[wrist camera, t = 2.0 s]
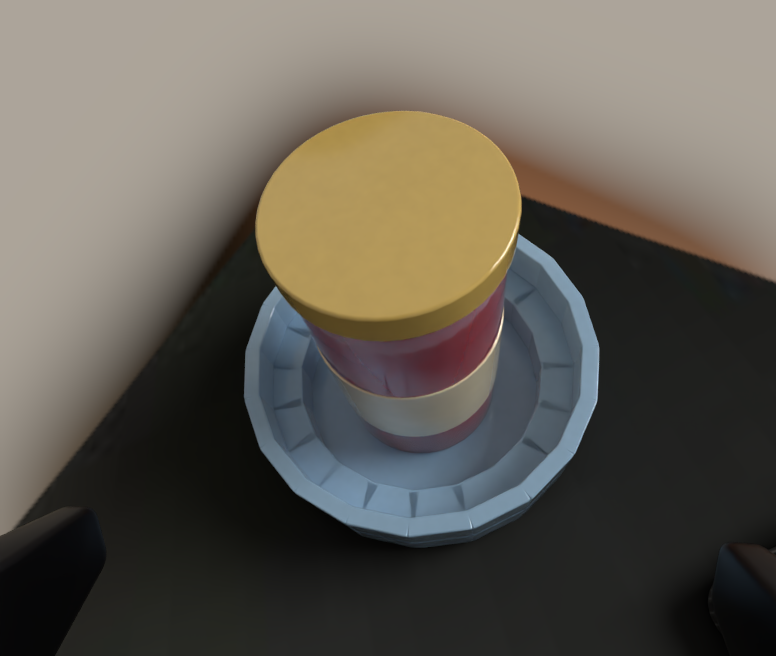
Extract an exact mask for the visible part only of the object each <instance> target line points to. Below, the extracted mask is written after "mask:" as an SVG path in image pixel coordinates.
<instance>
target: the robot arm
mask: <svg viewBox="0 0 776 656" xmlns="http://www.w3.org/2000/svg"><path fill="white" fill-rule="evenodd" d="M105 560H106V547H105V543H104V539H103V536H102V532H101V528H100V524H99V521H98V517H97V514H96V513H95V511H94V510H93V509H91V508H88V507H73V506H69V507H63V508H61V509H59V510H56V511H54V512H52V513H50V514H48V515H45V516H43V517H41V518H39V519H37V520H34V521H32V522H30V523H28V524H26V525H23V526H21V527H19V528H17V529H15V530H12V531H10V532H8V533H6V534H4V535H1V536H0V656H55V654H56V652H57V651H58V649H59V647H60V645H61V643H62V642H63V640H64V638H65V636H66V634H67V633H68V631H69V629H70V627H71V625H72V623H73V622H74V620H75V618H76V616H77V614H78V612H79V611H80V609H81V607H82V605H83V603H84V601H85V600H86V598H87V596H88V594H89V592H90V591H91V589H92V587H93V585H94V583H95V581H96V580H97V578H98V576H99V574H100V572H101V570H102V568H103V566H104V563H105ZM712 604H713V608H714V612H715V615H716V618H717V621H718V624H719V627H720V629H721V632H722V635H723V638H724V641H725V644H726V647H727V649H728V652H729V655H730V656H776V555H775V554H774V553H772V552H771V551H769V550H768V549H766V548H764V547H762V546H761V545H758V544H751V543H732V542H728V543H725V544H723V545H722V547H721V548H720V551H719V555H718V561H717V566H716V572H715V577H714V583H713V588H712Z"/></svg>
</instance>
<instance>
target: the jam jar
mask: <svg viewBox="0 0 776 656" xmlns="http://www.w3.org/2000/svg"><path fill="white" fill-rule="evenodd" d="M520 220H521V193H520V187H519V184H518V181H517V178H516V175H515V172H514V170H513V169H512V167H511V165H510V163H509V161H508V159H507V158H506V157H505V155H504V154H503V153H502V152H501V150H500V149H499V148H498V147H497V146H496V145H495V144H494V143H493V142H492V141H491V140H490V139H489V138H487V137H486V136H484V135H483V134H482V133H480V132H479V131H477V130H476V129H474V128H472V127H470V126H468V125H466V124H464V123H462V122H459V121H457V120H454V119H452V118H448V117H444V116H441V115H437V114H432V113H426V112H417V111H389V112H381V113H374V114H369V115H364V116H360V117H356V118H353V119H350V120H347V121H344V122H341V123H339V124H337V125H334V126H332V127H330V128H328V129H326V130H324V131H322V132H320V133H318V134H317V135H315V136H313V137H312V138H310V139H309V140H307V141H306V142H305V143H303V144H302V145H301V146H299V147H298V148H297V149H296V150H294V151H293V152H292V153H291V154H290V155H289V156H288V157H287V158H286V159H285V160H284V161H283V162H282V163H281V165H280V166H279V167H278V168H277V170H276V171H275V172H274V174H273V175H272V177H271V179H270V180H269V182H268V183H267V185H266V187H265V189H264V192H263V194H262V196H261V199H260V202H259V206H258V209H257V216H256V223H255V229H256V242H257V247H258V252H259V255H260V257H261V260H262V262H263V265H264V267H265V268H266V270H267V272H268V273H269V275H270V277H271V278H272V280H273V282H274V283H275V285H276V287H277V289H278V290H279V292H280V294H281V295H282V297H283V298H284V299H285V300H286V302H287V303H288V304H289V305H290V306H291V308H292V309H294V310H295V311H296V312H297V313H298V314H299V315H300V317H301V318H302V320H303V322H304V324H305V325H306V327H307V329H308V331H309V332H310V334H311V336H312V338H313V339H314V341H315V343H316V345H317V348H318V350H319V353H320V355H321V357H322V358H323V360H324V362H325V363H326V365H327V367H328V369H329V370H330V372H331V374H332V376H333V377H334V379H335V381H336V382H337V384H338V386H339V388H340V389H341V391H342V393H343V395H344V396H345V398H346V400H347V401H348V403H349V405H350V406H351V407H352V408H353V409H354V411H355V413H356V415H357V416H358V418H359V420H360V421H361V423H362V424H363V426H364V427H365V428H366V429H367V431H368V432H369V433H370V434H372V435H373V436H374V437H375V438H376V439H378V440H379V441H381V442H382V443H384V444H386V445H388V446H390V447H392V448H395V449H397V450H401V451H405V452H411V453H431V452H436V451H441V450H444V449H447V448H450V447H452V446H454V445H456V444H458V443H459V442H461V441H463V440H464V439H466V438H467V437H468V436H469V435H470V434H472V433H473V432H474V431H475V430H476V429H477V427H478V426H479V425H480V424H481V422H482V421H483V419H484V418H485V416H486V414H487V412H488V410H489V408H490V405H491V402H492V397H493V391H494V383H495V379H496V375H497V369H498V361H499V353H500V345H501V337H502V329H503V321H504V299H505V291H506V282H507V274H508V269H509V267H510V266H511V263H512V260H513V257H514V254H515V252H516V246H517V241H518V235H519V227H520Z"/></svg>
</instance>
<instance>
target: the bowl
mask: <svg viewBox="0 0 776 656" xmlns="http://www.w3.org/2000/svg"><path fill="white" fill-rule="evenodd" d="M598 373H599V344H598V341H597V338H596V335H595V332H594V329H593V326H592V323H591V320H590V317H589V314H588V311H587V308H586V305H585V302H584V299H583V297H582V295H581V294H580V293H579V291H578V290H577V289H576V288H575V286H574V285H573V284H572V282H571V281H570V280H569V278H568V277H567V276H566V275H565V273H564V272H563V271H562V269H561V268H560V267H559V265H558V264H557V263H556V262H555V260H554V259H553V258H552V257H551V256H549V255H548V254H546V253H545V252H543V251H542V250H541V249H539V248H538V247H536V246H535V245H534V244H532V243H531V242H529V241H528V240H526V239H525V238H524V237H522V236H521V235H518V241H517V246H516V252H515V254H514V257H513V260H512V263H511V266H510V267H509V269H508V274H507V282H506V291H505V299H504V321H503V329H502V337H501V345H500V353H499V361H498V369H497V375H496V379H495V383H494V391H493V397H492V402H491V405H490V408H489V410H488V412H487V414H486V416H485V418H484V419H483V421H482V422H481V424H480V425H479V426H478V427H477V429H476V430H475V431H474V432H473V433H472V434H470V435H469V436H468V437H467V438H466V439H464V440H463V441H461V442H459V443H458V444H456V445H454V446H452V447H450V448H447V449H444V450H441V451H436V452H431V453H411V452H405V451H401V450H397V449H395V448H392V447H390V446H388V445H386V444H384V443H382V442H381V441H379V440H378V439H376V438H375V437H374V436H373V435H372V434H370V433H369V432H368V431H367V429H366V428H365V427H364V426H363V424H362V423H361V421H360V420H359V418H358V416H357V415H356V413H355V411H354V409H353V408H352V407H351V406H350V405H349V403H348V401H347V400H346V398H345V396H344V395H343V393H342V391H341V389H340V388H339V386H338V384H337V382H336V381H335V379H334V377H333V376H332V374H331V372H330V370H329V369H328V367H327V365H326V363H325V362H324V360H323V358H322V357H321V355H320V353H319V350H318V348H317V345H316V343H315V341H314V339H313V338H312V336H311V334H310V332H309V331H308V329H307V327H306V325H305V324H304V322H303V320H302V318H301V317H300V315H299V314H298V313H297V312H296V311H295V310H294V309H292V308H291V306H290V305H289V304H288V303H287V302H286V300H285V299H284V298H283V297H282V295H281V294H280V292H279V290H278V289H277V287H276V286H275V288H274V289H273V290H272V292H271V293H270V295H269V296H268V297H267V299H266V300H265V301H264V303H263V305H262V307H261V309H260V312H259V315H258V317H257V320H256V323H255V326H254V328H253V331H252V334H251V337H250V339H249V342H248V345H247V348H246V352H245V384H244V399H245V404H246V407H247V410H248V413H249V416H250V419H251V423H252V426H253V429H254V432H255V435H256V438H257V441H258V444H259V447H260V448H261V451H262V452H263V454H264V455H265V456H266V458H267V459H268V460H269V461H270V463H271V464H272V465H273V466H274V468H275V469H276V470H277V472H278V473H279V474H280V475H281V477H282V478H283V479H284V481H285V482H286V483H287V484H288V486H289V487H290V488H291V489H292V491H293V492H294V493H295V494H297V495H298V496H300V497H301V498H303V499H304V500H306V501H307V502H309V503H310V504H312V505H313V506H315V507H316V508H318V509H319V510H321V511H322V512H324V513H325V514H327V515H329V516H330V517H332V518H334V519H335V520H337V521H338V522H340V523H342V524H343V525H345V526H346V527H348V528H350V529H351V530H353V531H354V532H356V533H358V534H359V535H361V536H364V537H366V538H371V539H376V540H380V541H385V542H389V543H394V544H399V545H403V546H408V547H412V548H416V547H417V548H424V547H432V546H440V545H448V544H456V543H464V542H470V541H474V540H476V539H478V538H480V537H482V536H484V535H486V534H488V533H490V532H492V531H494V530H496V529H498V528H500V527H502V526H504V525H506V524H508V523H510V522H512V521H514V520H516V519H518V518H520V517H521V516H522V515H524V514H525V513H526V512H527V511H528V510H529V509H530V508H531V506H532V505H533V504H534V503H535V502H536V501H537V500H538V499H539V498H540V497H541V496H542V495H543V494H544V493H545V492H546V491H547V490H548V489H549V487H550V486H551V485H552V484H553V483H554V482H555V481H556V480H557V479H558V478H559V476H560V475H561V473H562V472H563V470H564V469H565V468H566V466H567V465H568V463H569V462H570V460H571V459H572V457H573V456H574V455H575V453H576V451H577V448H578V446H579V443H580V441H581V439H582V436H583V434H584V432H585V429H586V427H587V425H588V422H589V420H590V418H591V415H592V413H593V411H594V408H595V406H596V404H597V400H598Z"/></svg>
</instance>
